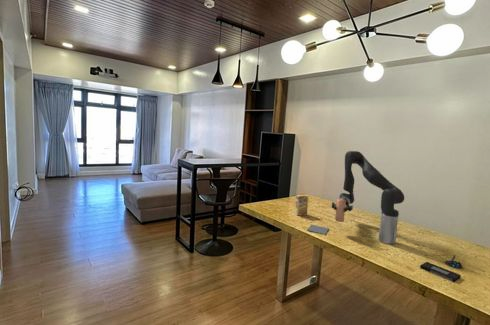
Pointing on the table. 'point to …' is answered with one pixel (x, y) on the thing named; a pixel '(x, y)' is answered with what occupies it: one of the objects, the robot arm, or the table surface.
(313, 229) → the rubber mat
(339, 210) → the terracotta canister
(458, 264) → the dark blue compact piece
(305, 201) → the candy box
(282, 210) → the table surface
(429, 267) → the vhs tape
